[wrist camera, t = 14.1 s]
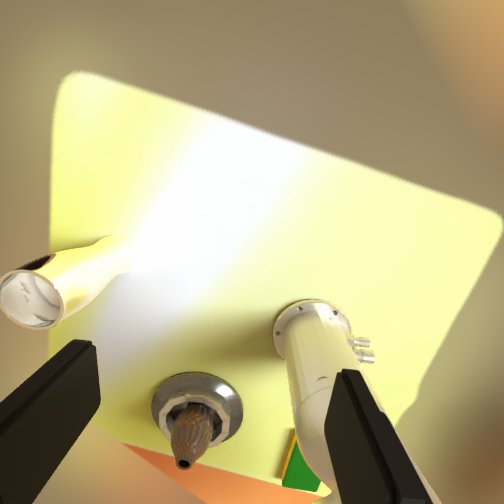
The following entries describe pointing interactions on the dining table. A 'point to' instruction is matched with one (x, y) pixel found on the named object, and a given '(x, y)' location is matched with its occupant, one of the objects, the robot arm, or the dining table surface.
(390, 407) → the dining table surface
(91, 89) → the dining table surface
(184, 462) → the vase
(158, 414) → the ring seat
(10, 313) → the beer glass
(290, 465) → the dish sponge
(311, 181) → the dining table surface
